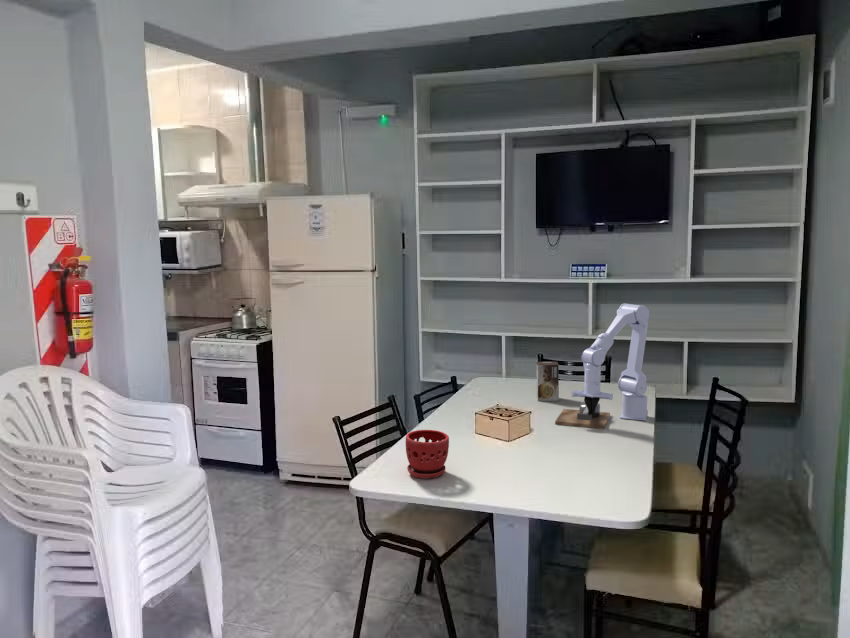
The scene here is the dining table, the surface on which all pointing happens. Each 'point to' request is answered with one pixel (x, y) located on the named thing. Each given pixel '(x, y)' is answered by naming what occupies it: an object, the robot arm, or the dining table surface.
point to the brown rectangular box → (547, 381)
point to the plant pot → (427, 453)
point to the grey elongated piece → (587, 412)
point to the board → (570, 419)
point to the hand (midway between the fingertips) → (591, 416)
